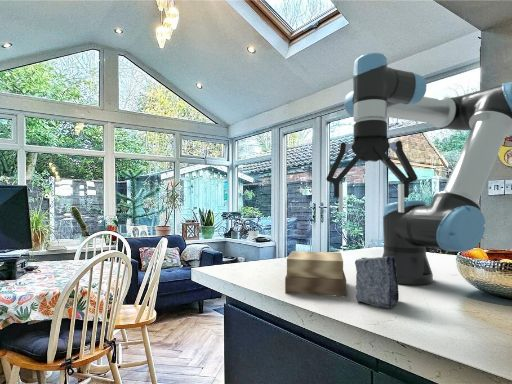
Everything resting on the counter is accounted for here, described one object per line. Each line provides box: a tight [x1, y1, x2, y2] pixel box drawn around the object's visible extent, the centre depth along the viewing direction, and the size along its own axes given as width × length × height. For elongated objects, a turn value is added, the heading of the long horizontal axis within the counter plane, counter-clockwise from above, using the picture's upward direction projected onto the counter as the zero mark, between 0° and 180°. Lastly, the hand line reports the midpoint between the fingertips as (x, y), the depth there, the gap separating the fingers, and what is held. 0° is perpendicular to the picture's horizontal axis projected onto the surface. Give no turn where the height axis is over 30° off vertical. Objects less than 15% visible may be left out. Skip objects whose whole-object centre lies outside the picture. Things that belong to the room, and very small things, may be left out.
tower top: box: [286, 250, 344, 279], centre depth 94 cm, size 14×14×4 cm
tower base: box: [284, 270, 347, 297], centre depth 94 cm, size 15×15×4 cm
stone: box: [354, 256, 400, 309], centre depth 81 cm, size 12×10×10 cm
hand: (370, 212), depth 81 cm, fingers open, 13 cm apart
